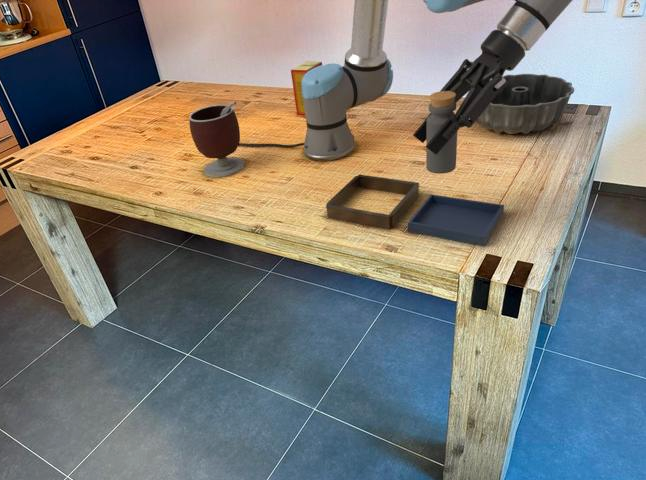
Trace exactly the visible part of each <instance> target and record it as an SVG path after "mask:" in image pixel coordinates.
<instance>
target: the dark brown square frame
mask: <svg viewBox="0 0 646 480" xmlns="http://www.w3.org/2000/svg"><path fill="white" fill-rule="evenodd" d="M360 188H361V189H365V190H366V189H367V190H373V191H379V192H380V191H381V192H386V193H394V194H399V195H404V197H403V198H402V199H401V200H400V201H399V203H397V205H396V206H395V207H394V208H392V211H390V213H388V214H385V213H381V212H374V211H370V210H364V209H359V208H358V209H357V208H352V207H346V206H343V205H344V204H345V203H346V202H347V201H348V200H349V199H350V198H351V197H352V196H353V195H354V194H355V193H356V192H357V191H358V190H359V189H360ZM419 196H420V182H417V181H411V180H410V181H409V180H401V179H395V178H389V177H380V176H375V175H374V176H373V175H367V174H358V175H355V176H354V177H353V178H351V180H350V181H348V182H347V184H345V185H344V186H343V187H342V188H341V189H340V190H339V191H338V192H337V193H336V194H335V195H334V196H332V198H330V199H329V200H328V201H327V202H326V205H325V209H326V215H327V219H333V220H338V221H343V222H348V223H354V224H359V225H362V226H363V225H364V226H369V227H373V228H380V229H384V230H391V229H394V227H395V226H396V225H397V224H398V222H400V220H401V219H402V218H403V216H404V215H405V214H406V213H407V211H409V209H410V208H412V206H413V205H414V203H415V202H416V201H417V200H418V199H419Z"/></svg>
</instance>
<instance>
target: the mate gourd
mask: <svg viewBox="0 0 646 480" xmlns="http://www.w3.org/2000/svg"><path fill="white" fill-rule="evenodd" d="M235 105H237V101H232V102H231V103H229V104H213V105H209V106H204V107H201V108H199V109H197V110H194V111H193V112H191V113H190V114H189V115H188V119H189V131H190V134H191V138H192V141H193V142H194V146H195V147H196V150H197V151H198V152H199V153H200V154H201V155H202V156H203V157H205V158H208V159H216V160H213V161H212V162H209V163H208V164H206V165H205V167H204V169H203V173H204V174H205V176H207V177H210V178H223V177H228V176H232V175H235V174H236V173H238V172H240V171H242V170H243V169H244V167H245V162H244V159H242V158H239V157H236V156H235V157H234V156H233V157H228V156H230V155H232V154H234V153H235V152H236V151H237V149H238V147H239V146H240V145H239V143H241V129H240V125H239V121H238V117H237V115H236V112H235V110H234V107H233V106H235Z"/></svg>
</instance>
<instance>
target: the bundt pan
mask: <svg viewBox="0 0 646 480" xmlns="http://www.w3.org/2000/svg"><path fill="white" fill-rule="evenodd" d="M503 78H504V79H505V80H506V81H507V82H508V85H507V86H506V87H505V88H504V89H503V90H502V91H500V92H499V93H498V94H497V95H496V97H495V98H494V99H493V100H492V102H491V103H490V104H489V105H488V107H487V108H486V109H485V110H484V112H483V113H482V114H481V115H480V116H479V118H478V119H477V120H476V121H475V123H477V124H479V125H480V126H482V128H484V129H486V130H492V131H494V133H496V134H500V133H503V132H504V133H506V134H509V135H514V134H518V133H521V134H522V135H527V134H529V133H530V132H534V133H536V132H540V131H544V130H545V129H548V128H549V129H550V128H552V127H554V126H555V125H556V124H557V123H558V122H559V121H560V119H561V118H562V116H563V115H564V113H565V111H566V109H567V106H568V104H569V100H570V98H571V95H572V94H574V92H575V87H573V83H572V82H569V81H567V80H566V79H564V78H562V77H558V76H552V75H551V76H550V75H548V74H535V73H520V74H519V73H518V74H506V75H505V74H504V75H503Z"/></svg>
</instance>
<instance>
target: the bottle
mask: <svg viewBox="0 0 646 480" xmlns="http://www.w3.org/2000/svg"><path fill="white" fill-rule="evenodd" d="M455 96H456V94H455V93H454V92H451V91H441V90H439V91H436V92H433V93H431V94H430V95H429V100H430V103H429V104H428V112H429V113H432V114H431V115H430V116H429V117H428V116H427V117H428V118H427V117H426V118H427V133H426V140H425V142H426V143H425V144H426V145H427V144H428V143H429V141H430V140H431V139H432V138H433V137H434V135H435V134H436V133H437V132H438V131H439V129H440V128H441V127H442V126H443V125H444V124H445V122H446V121H447V120H448V119H450V116H454V115H455V114H456V112H455V111H457V102H454V100H455ZM450 120H451V119H450ZM452 121H453V120H452ZM426 145H425V146H426ZM425 148H426V147H425ZM457 151H458V131H457V132H456V133H455V134H454V136H453V137H452V138H451V139H450V140H449V141H448V142H447V143H446V144H445V145H444V146H443V148H442V149H441V150H440V151H439V152H438V153H437V155H436V154H434V153H433V152H432V151H430V150H429V149H428V148H426V153H425V155H426V157H425V158H426V160H425V163H426V164H425V165H426V166H425V167H426V170H427V171H428V172H429V173H432V174H437V175H439V174H440V175H441V174H442V175H443V174H449V173H452V172H453V171H455V169H456V167H457V153H458V152H457Z"/></svg>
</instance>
